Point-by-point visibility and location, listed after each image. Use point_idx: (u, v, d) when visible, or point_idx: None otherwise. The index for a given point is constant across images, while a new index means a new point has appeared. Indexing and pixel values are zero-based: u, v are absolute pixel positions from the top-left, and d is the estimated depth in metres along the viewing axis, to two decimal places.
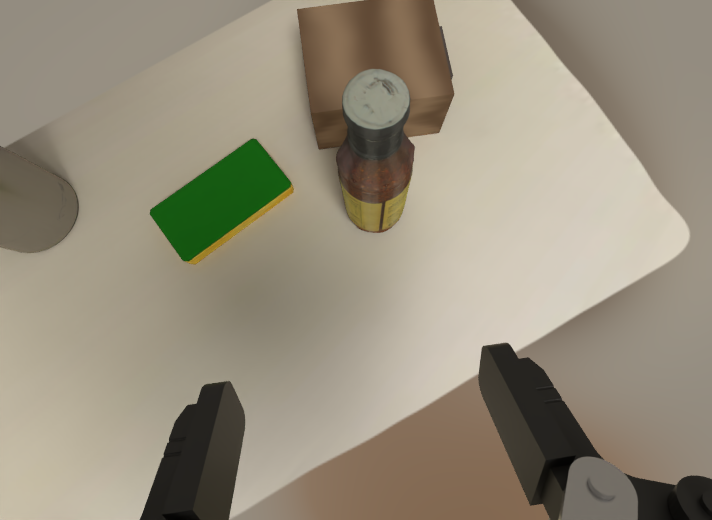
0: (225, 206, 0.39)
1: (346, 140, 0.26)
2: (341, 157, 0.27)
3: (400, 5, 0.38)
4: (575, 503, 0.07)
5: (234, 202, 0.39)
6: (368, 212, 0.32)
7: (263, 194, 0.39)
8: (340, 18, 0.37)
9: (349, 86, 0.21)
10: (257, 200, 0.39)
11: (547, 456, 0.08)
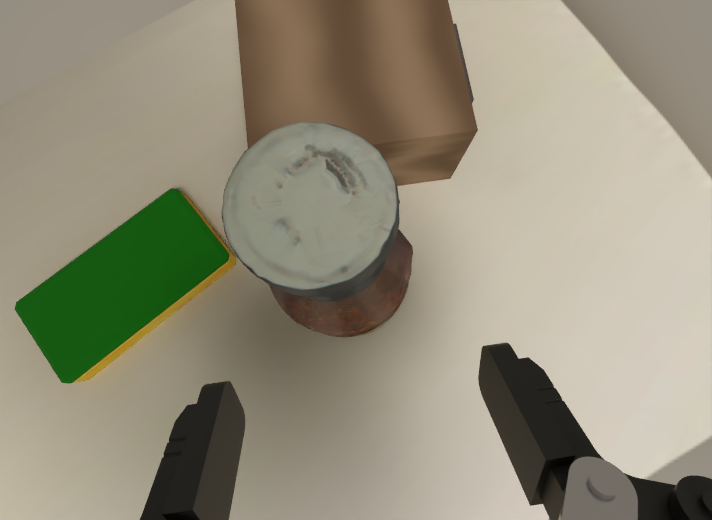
0: (129, 294, 0.26)
1: None
2: None
3: None
4: (575, 503, 0.07)
5: (142, 288, 0.26)
6: None
7: (186, 274, 0.26)
8: (300, 11, 0.24)
9: (241, 169, 0.08)
10: (177, 284, 0.26)
11: (547, 456, 0.08)
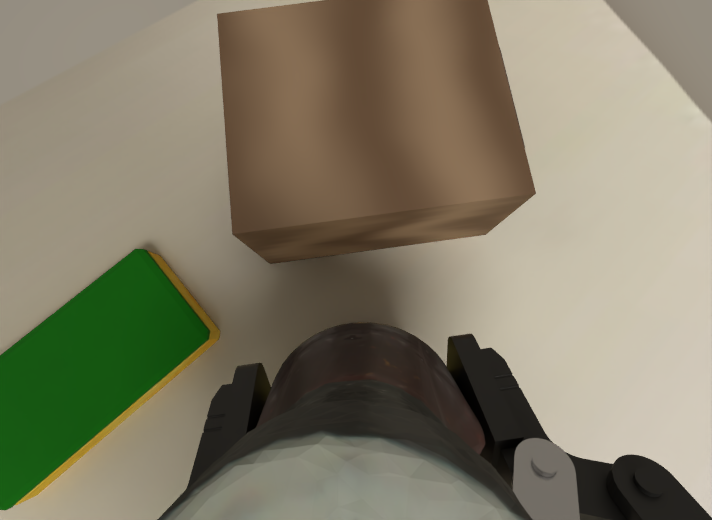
0: (82, 389, 0.20)
1: None
2: None
3: (421, 7, 0.19)
4: (517, 480, 0.08)
5: (100, 380, 0.20)
6: None
7: (155, 360, 0.21)
8: (301, 33, 0.19)
9: None
10: (144, 373, 0.20)
11: (497, 438, 0.09)
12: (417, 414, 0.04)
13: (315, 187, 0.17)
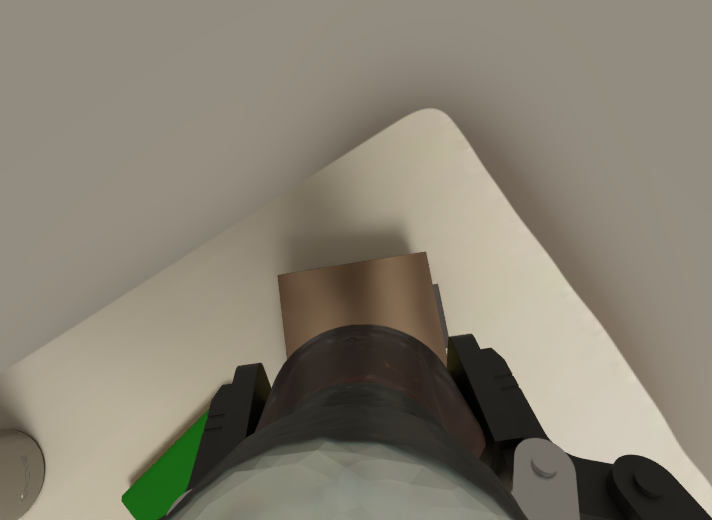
0: None
1: None
2: None
3: (391, 269, 0.34)
4: (517, 480, 0.08)
5: None
6: None
7: None
8: (325, 287, 0.34)
9: None
10: None
11: (497, 438, 0.09)
12: (417, 419, 0.04)
13: None
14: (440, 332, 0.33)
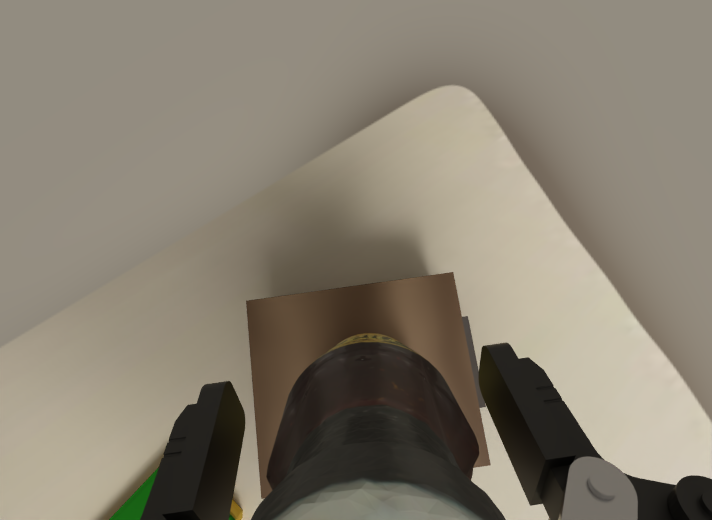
0: None
1: None
2: None
3: (405, 296, 0.24)
4: (575, 503, 0.07)
5: None
6: None
7: None
8: (312, 319, 0.24)
9: None
10: None
11: (547, 456, 0.08)
12: (429, 454, 0.05)
13: None
14: (473, 387, 0.23)
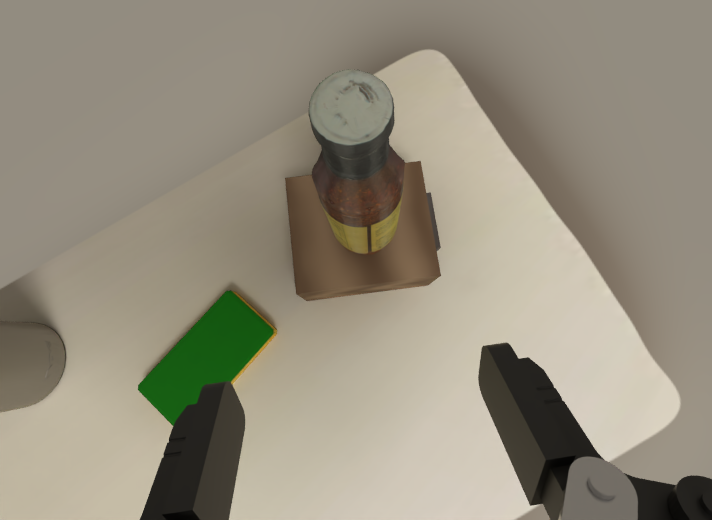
0: (212, 368, 0.39)
1: (322, 154, 0.22)
2: (317, 174, 0.23)
3: None
4: (575, 503, 0.07)
5: (221, 362, 0.39)
6: (353, 235, 0.28)
7: (248, 348, 0.39)
8: None
9: (318, 90, 0.17)
10: (243, 355, 0.39)
11: (547, 456, 0.08)
12: None
13: (335, 271, 0.36)
14: (431, 230, 0.36)
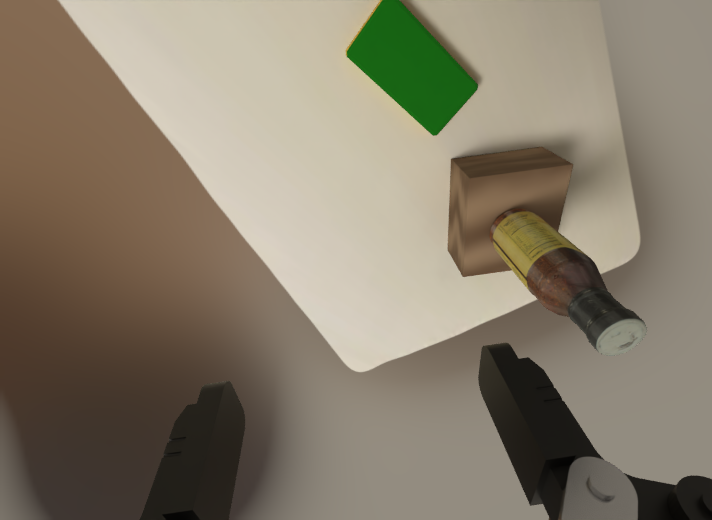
0: (406, 80, 0.40)
1: (593, 282, 0.32)
2: (579, 271, 0.33)
3: None
4: (575, 503, 0.07)
5: (411, 87, 0.41)
6: (518, 256, 0.39)
7: (422, 114, 0.42)
8: (550, 200, 0.44)
9: (639, 323, 0.28)
10: (416, 110, 0.42)
11: (547, 456, 0.08)
12: None
13: (481, 207, 0.44)
14: (496, 271, 0.50)
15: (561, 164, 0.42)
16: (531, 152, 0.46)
